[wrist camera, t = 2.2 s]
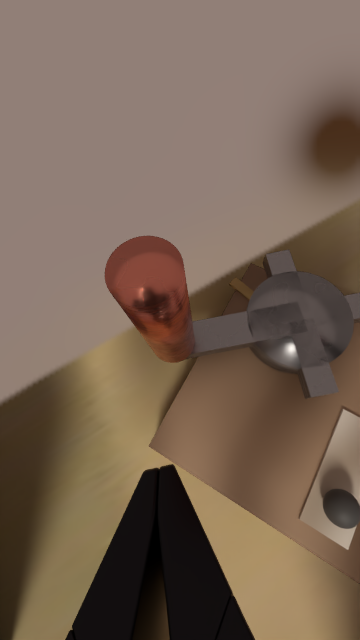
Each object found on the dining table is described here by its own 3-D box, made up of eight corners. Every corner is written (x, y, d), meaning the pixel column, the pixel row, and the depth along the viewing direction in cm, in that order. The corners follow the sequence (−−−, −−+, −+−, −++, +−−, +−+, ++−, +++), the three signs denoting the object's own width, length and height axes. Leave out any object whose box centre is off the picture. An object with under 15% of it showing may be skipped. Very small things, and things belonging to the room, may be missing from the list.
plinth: (421, 355, 19) (470, 338, 15) (347, 568, 16) (388, 611, 12) (240, 274, 22) (246, 244, 18) (147, 439, 19) (132, 442, 15)
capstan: (335, 254, 19) (451, 98, 10) (388, 383, 16) (619, 330, 7) (147, 291, 20) (94, 172, 10) (167, 424, 17) (118, 423, 8)
